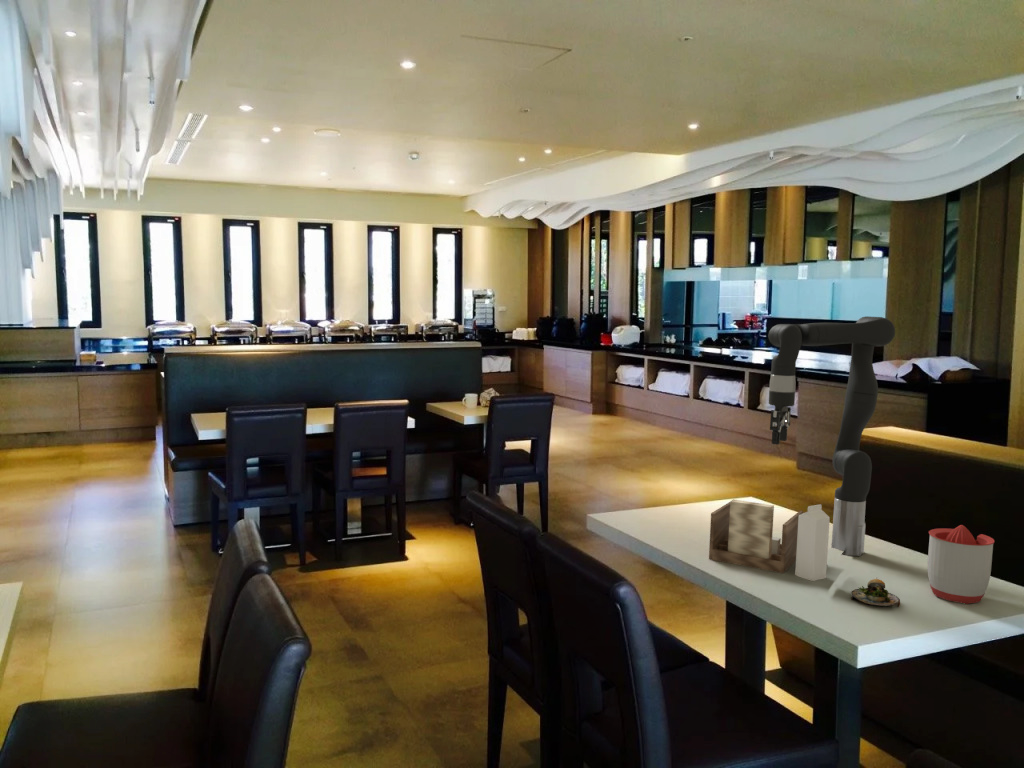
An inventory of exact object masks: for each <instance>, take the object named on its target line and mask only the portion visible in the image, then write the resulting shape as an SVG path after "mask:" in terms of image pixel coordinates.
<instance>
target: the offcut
mask: <svg viewBox="0 0 1024 768" xmlns="http://www.w3.org/2000/svg"><path fill="white" fill-rule="evenodd" d="M781 543H782V537H775V536H772V550H771V554H777V555H780V544H781Z"/></svg>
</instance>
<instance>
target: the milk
mask: <svg viewBox="0 0 1024 768" xmlns="http://www.w3.org/2000/svg"><path fill="white" fill-rule="evenodd" d="M830 518H831V517H830V516H829V515H828V514H827V513H826V512H825V511H824V510H823V509H822V504H816V505H815V504H814V505H808V507H807V511H806V512H803V514H801V515H799V518H798V535H797V552H796V561H795V571H794V572H795V573H794V575H795V576H797V577H800V578H802V579H805V580H808V581H812V582H815V581H819V580H822V579H826V578H827V568H828V567H827V566H828V554H829V550H828V548H829V537H830V536H829V533H830V520H831V519H830Z"/></svg>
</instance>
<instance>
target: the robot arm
mask: <svg viewBox="0 0 1024 768" xmlns="http://www.w3.org/2000/svg"><path fill="white" fill-rule="evenodd" d="M895 335H896V328H895V325H894V323H893V321H891V320H890V319H889V318H886V317H882V316H862V317H860V318H859V319H857V320H856V322H854V323H853V322H852V323H850V322H848V323H846V322H845V323H843V322H812V323H803V324H802V323H801V324H800V323H797V324H796V323H795V324H793V323H792V324H791V323H779V324H778V323H777V324H776V325H774V326H772V327H771V328H770V330H769V331H768V340H769V342H770V344H772V345H773V346H774V347H777V348H779V351H778V353H777V355H774V356H773V357H772V360H771V367H770V368H771V371H770V379H769V389H768V404H769V405H770V406H774V410H771V411H770V419H769V420H770V423H769V430H770V431H771V433H772V434H771V444H772V445H779V444H781V443H780V442H785V441H787V440H788V429H789V427H791V411H792V408H791V407H793V406H795V402H796V386H797V385H796V369H797V368H796V367H797V366H796V365H797V364H796V363H797V359H798V357H799V354H800V349H801V346H804V347H819V346H832V345H833V346H834V345H842V344H845V345H846V344H847V345H848V344H851V354H850V355H851V356H850V357H851V358H850V365H849V373H848V381H847V385H846V391H845V396H844V397H845V398H844V403H843V404H844V405H843V412H842V416H841V422H840V428H839V429H840V430H839V433H838V436H837V440H836V444H835V448H834V451H833V455H832V467H833V469H834V471H835V472H836V473H837V474H839V475H841V476H842V482H841V485H840V486H839V487H837V488H836V489H835V491H834V500H833V502H834V504H833V516H832V517H833V519H832V532H831V533H832V535H831V549H835V550H839V551H841V552H842V551H843V552H842V553H841V556H842V555H843V556H849V557H851V556H852V557H855V556H856V557H861V556H862V555H863V553H864V552H865V551H864V550H865V540H866V539H865V537H866V536H865V535H866V521H865V519H866V517H865V516H866V504H867V496H868V494H869V491H870V489H871V481H872V480H871V479H872V471H873V470H872V469H873V465H872V464H873V463H872V460H871V457H870V456H869V455H868V453H866V452H864V451H862V450H860V445H861V439H862V434H863V432H864V430H865V427H867V425H868V424H869V422H870V420H871V418H872V417H873V415H874V413H875V410H876V407H877V402H878V395H879V387H878V386H879V385H878V380H877V376H876V374H875V370H874V365H873V357H874V356H873V355H874V349H875V347H884V346H887V345H888V344H890V343H891V342H892V341H893V340H894V337H895Z"/></svg>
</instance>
